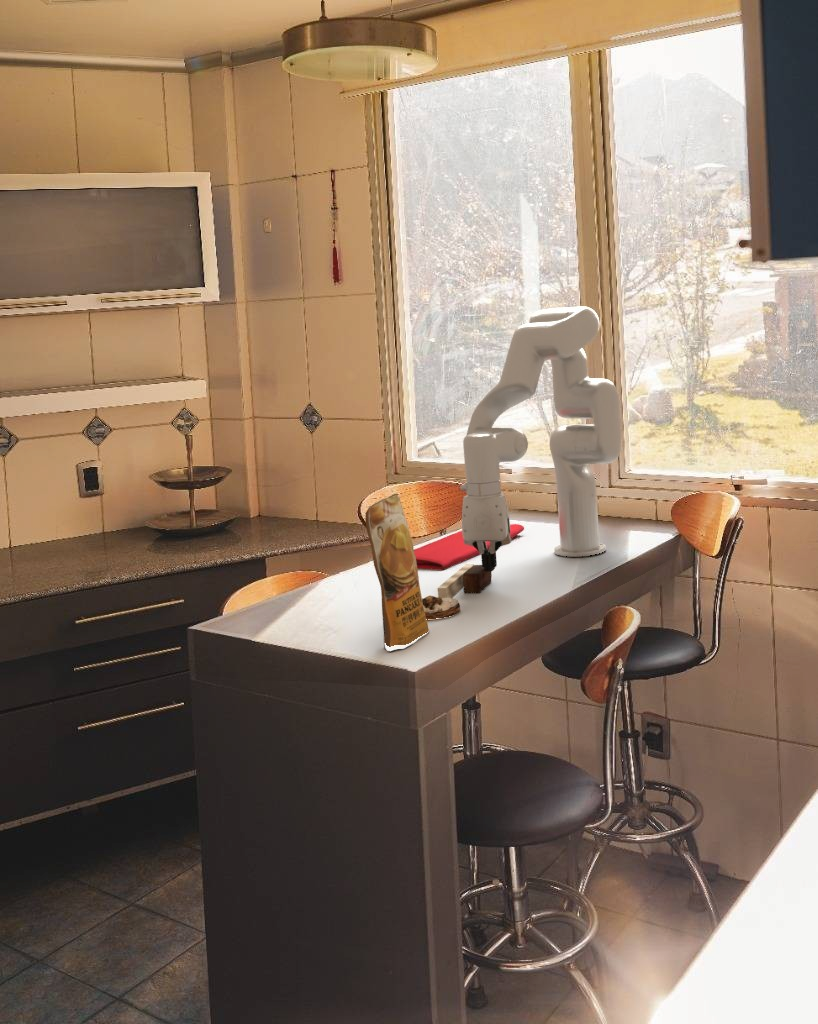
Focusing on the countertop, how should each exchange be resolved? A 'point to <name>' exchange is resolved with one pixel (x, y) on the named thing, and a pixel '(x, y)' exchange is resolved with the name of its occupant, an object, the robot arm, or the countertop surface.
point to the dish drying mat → (451, 550)
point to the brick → (476, 579)
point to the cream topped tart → (440, 607)
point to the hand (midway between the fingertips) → (489, 570)
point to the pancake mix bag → (396, 572)
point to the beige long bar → (453, 583)
